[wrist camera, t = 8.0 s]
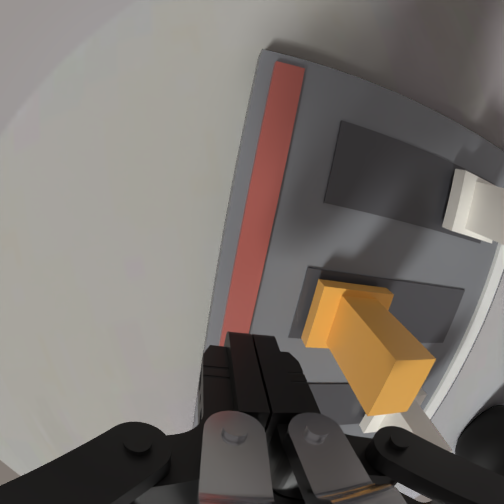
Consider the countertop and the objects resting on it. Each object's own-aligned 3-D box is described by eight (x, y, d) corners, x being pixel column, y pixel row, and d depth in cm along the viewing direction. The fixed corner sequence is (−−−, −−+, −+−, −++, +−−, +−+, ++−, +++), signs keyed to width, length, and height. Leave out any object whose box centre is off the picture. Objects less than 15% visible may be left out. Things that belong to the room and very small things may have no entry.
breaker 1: (318, 278, 14) (376, 352, 8) (386, 287, 14) (456, 350, 9) (301, 337, 14) (341, 424, 9) (366, 341, 15) (420, 414, 10)
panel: (258, 55, 12) (263, 46, 11) (518, 167, 15) (531, 169, 14) (192, 431, 18) (191, 446, 16) (418, 422, 21) (425, 432, 19)
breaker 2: (377, 390, 16) (420, 458, 11) (421, 387, 17) (465, 443, 12) (359, 424, 17) (392, 490, 12) (401, 419, 18) (438, 476, 13)
